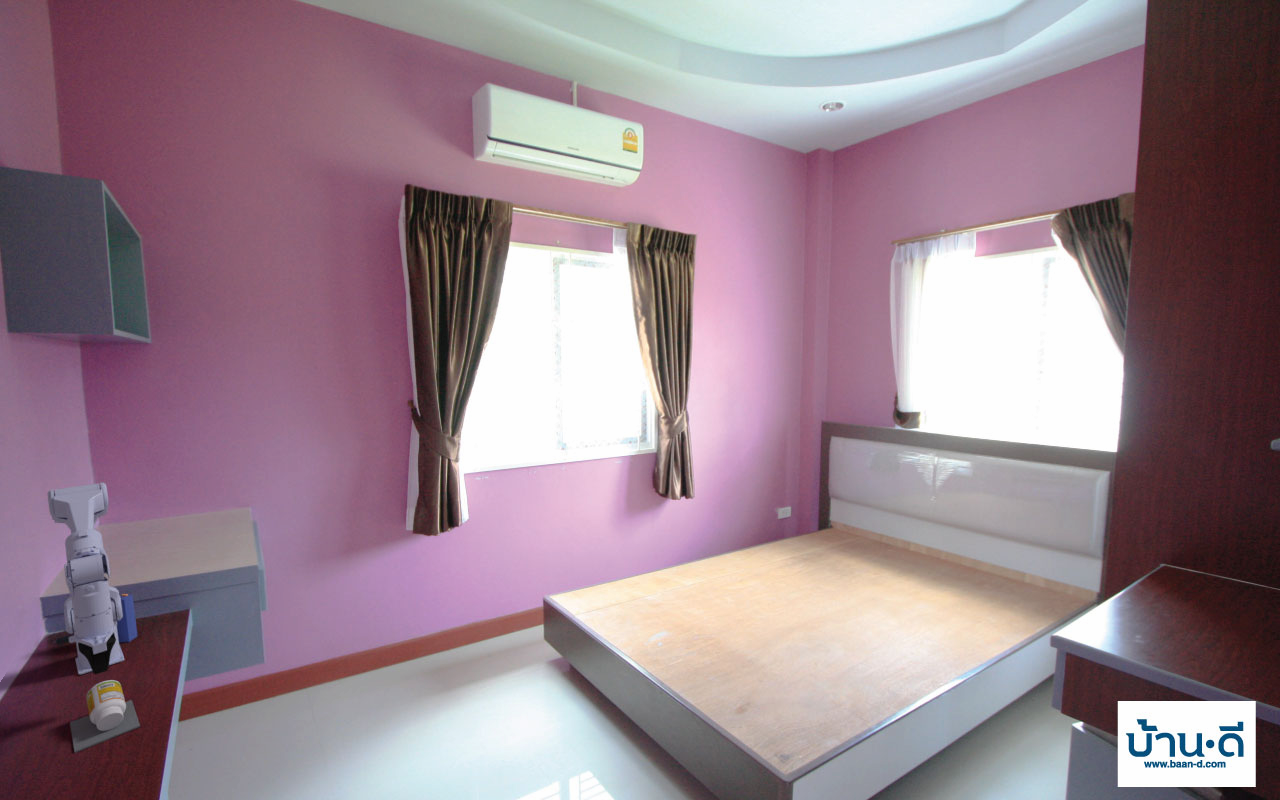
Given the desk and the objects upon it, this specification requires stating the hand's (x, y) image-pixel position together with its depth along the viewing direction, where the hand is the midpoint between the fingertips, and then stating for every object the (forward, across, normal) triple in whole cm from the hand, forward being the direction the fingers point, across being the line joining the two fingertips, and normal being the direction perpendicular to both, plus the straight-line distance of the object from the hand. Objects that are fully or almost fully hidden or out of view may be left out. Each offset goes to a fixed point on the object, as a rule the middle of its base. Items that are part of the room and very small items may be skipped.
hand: (100, 671), depth 120 cm
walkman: (+8, -33, +5) cm, 34 cm away
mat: (+8, +8, -1) cm, 11 cm away
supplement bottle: (+3, +2, 0) cm, 4 cm away
